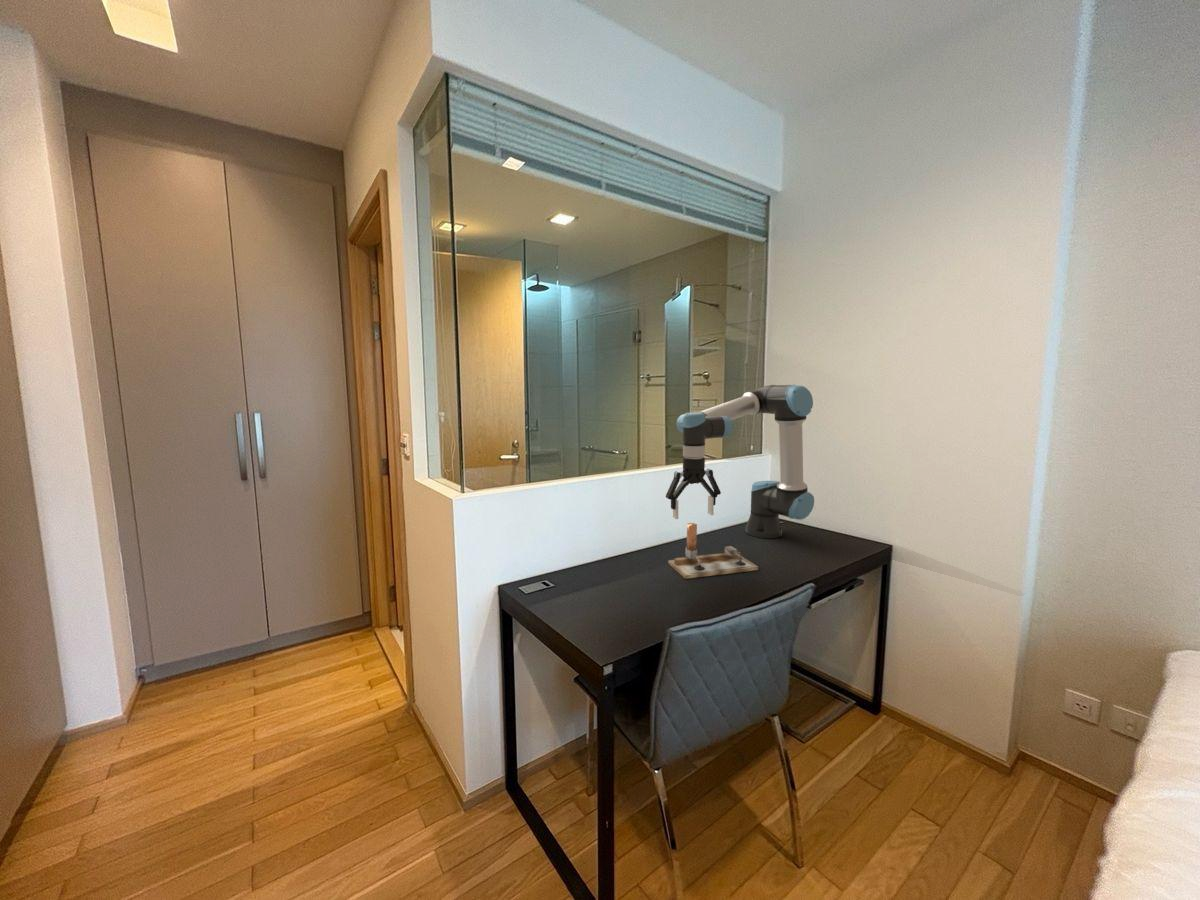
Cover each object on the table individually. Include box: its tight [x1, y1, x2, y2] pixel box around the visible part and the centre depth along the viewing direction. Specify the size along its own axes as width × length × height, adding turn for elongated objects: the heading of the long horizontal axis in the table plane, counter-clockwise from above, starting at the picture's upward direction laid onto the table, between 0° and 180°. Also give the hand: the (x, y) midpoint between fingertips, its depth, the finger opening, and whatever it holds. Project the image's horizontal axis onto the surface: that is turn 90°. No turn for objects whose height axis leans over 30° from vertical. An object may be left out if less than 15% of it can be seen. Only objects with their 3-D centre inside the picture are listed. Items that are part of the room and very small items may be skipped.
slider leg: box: [684, 522, 701, 568], centre depth 168 cm, size 3×9×13 cm, turn 16°
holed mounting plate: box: [667, 545, 759, 580], centre depth 170 cm, size 28×14×5 cm, turn 106°
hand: (693, 516), depth 169 cm, fingers open, 13 cm apart
